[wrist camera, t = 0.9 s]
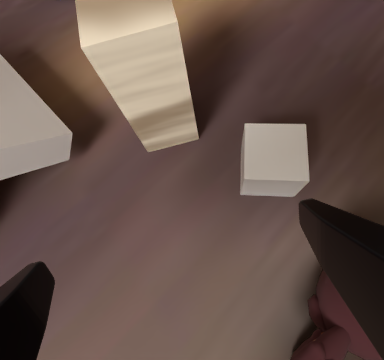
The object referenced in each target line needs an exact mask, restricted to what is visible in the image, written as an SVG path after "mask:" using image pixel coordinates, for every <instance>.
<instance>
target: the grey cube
mask: <svg viewBox="0 0 384 360" xmlns="http://www.w3.org/2000/svg"><path fill="white" fill-rule="evenodd" d="M309 181H310V180H309V164H308V148H307V133H306V124H245V126H244V132H243V139H242V145H241V186H240V195H258V196H283V197H294V196H295V195H296V194H297V193H298V192H299V191H300V190H301V189H302V188H303V187H304V186H305V185H306V184H307V183H308V182H309Z"/></svg>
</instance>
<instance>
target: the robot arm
mask: <svg viewBox="0 0 384 360" xmlns="http://www.w3.org/2000/svg"><path fill="white" fill-rule="evenodd" d="M299 220H300V225H301V228H302V230H303V232H304V234H305V236H306V238H307V240H308V242H309V244H310V246H311V248H312V250H313V251H314V253H315V255H316V257H317V259H318V261H319V263H320V265H321V267H322V268H323V270H324V272H325V273H326V275H327V276H328V278H329V279H330V281H331V282H332V284H333V285H334V287H335V288H336V290H337V291H338V293H339V294H340V296H341V297H342V299H343V300H344V302H345V304H346V305H347V307H348V308H349V310H350V311H351V313H352V314H353V316H354V317H355V319H356V320H357V322H358V323H359V325H360V326H361V328H362V329H363V331H364V332H365V334H366V335H367V337H368V338H369V340H370V342H371V343H372V345H373V346H374V348H375V349H376V351H377V352H378V354H379V355H380V357H381V358H382V360H384V226H382V225H380V224H377V223H374V222H372V221H369V220H367V219H364V218H361V217H359V216H356V215H354V214H351V213H349V212H346V211H343V210H341V209H338V208H336V207H333V206H330V205H328V204H325V203H323V202H320V201H318V200H315V199H312V198H310V199H306V200H302V201H300V202H299ZM54 285H55V280H54V277H53V275H52V274H51V272H50V271H49V269H48V268H47V266H46V265H45V263H43V262H41V261H39V262H35V263H31V264H29V265H27V266H26V267H25V268H24V269H22V270H21V271H20V272H19V273H17V274H16V275H15V276H14V277H12V278H11V279H10V280H9V281H7V282H6V283H5V284H4V285H2V286H1V287H0V360H36V359H37V356H38V353H39V349H40V346H41V343H42V339H43V336H44V333H45V329H46V325H47V320H48V316H49V310H50V305H51V300H52V295H53V290H54Z"/></svg>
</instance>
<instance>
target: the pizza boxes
mask: <svg viewBox="0 0 384 360" xmlns="http://www.w3.org/2000/svg"><path fill="white" fill-rule="evenodd" d="M72 134H73V133H72V132H71V131H70V130H69V129H68V128H67V126H66V125H65V124H64V123H63V122H62V121H61V120H60V119H59V118H58V117H57V116H56V114H55V113H54V112H53V111H52V110H51V109H50V108H49V107H48V106H47V105H46V104H45V102H44V101H43V100H42V99H41V98H40V97H39V96H38V95H37V94H36V93H35V92H34V90H33V89H32V88H31V87H30V86H29V85H28V84H27V83H26V82H25V81H24V80H23V78H22V77H21V76H20V75H19V74H18V73H17V72H16V71H15V70H14V69H13V68H12V66H11V65H10V64H9V63H8V62H7V61H6V60H5V59H4V58H3V57H2V56H1V54H0V180H3V179H6V178H10V177H13V176H16V175H20V174H23V173H27V172H30V171H33V170H37V169H40V168H44V167H47V166H51V165H54V164H57V163H61V162H64V161H68V160H69V158H70V150H71V142H72Z"/></svg>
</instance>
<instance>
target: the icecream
mask: <svg viewBox="0 0 384 360" xmlns="http://www.w3.org/2000/svg"><path fill="white" fill-rule="evenodd" d="M308 307H309V315H310V317H311V319H312V320H313V322H314V324H315V325H316V326H317V327H318V328H319V329H317V330H315V331H314V332H313V334H312V336H311V337H310V338H308V339H307V340H305V341H304V342H303V343H302V344H301V345H300V346H299V347H298V349H297V350H296V351H295V352H294V353H293V355H292V357H291V359H290V360H344V358H345V356H346V354H347V351H349V352H351V353H353V354H355V355H357V356H359V357H360V358H362V359H364V360H382V358H381V357H380V355H379V354H378V352H377V351H376V349H375V348H374V346H373V345H372V343H371V342H370V340H369V338H368V337H367V335H366V334H365V332H364V331H363V329H362V328H361V326H360V325H359V323H358V322H357V320H356V319H355V317H354V316H353V314H352V313H351V311H350V310H349V308H348V307H347V305H346V304H345V302H344V300H343V299H342V297H341V296H340V294H339V293H338V291H337V290H336V288H335V287H334V285H333V284H332V282H331V281H330V279H329V278H328V276H327V275H326V273H325V272H324V270H323V271H322V272H321V275H320V278H319V281H318V283H317V286H316V295H313V296H312V297H311V298H310V299H308Z"/></svg>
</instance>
